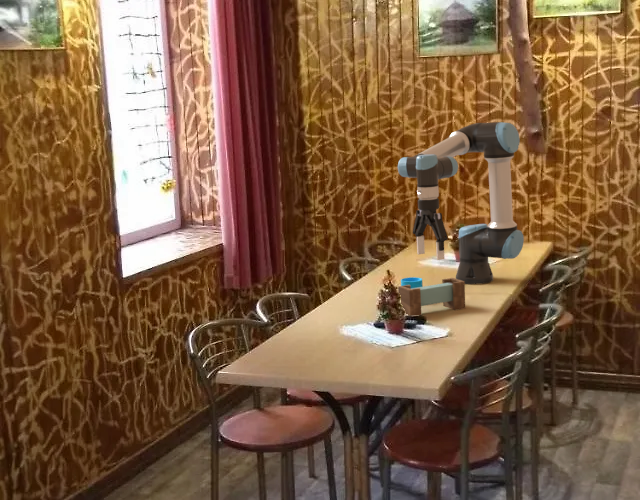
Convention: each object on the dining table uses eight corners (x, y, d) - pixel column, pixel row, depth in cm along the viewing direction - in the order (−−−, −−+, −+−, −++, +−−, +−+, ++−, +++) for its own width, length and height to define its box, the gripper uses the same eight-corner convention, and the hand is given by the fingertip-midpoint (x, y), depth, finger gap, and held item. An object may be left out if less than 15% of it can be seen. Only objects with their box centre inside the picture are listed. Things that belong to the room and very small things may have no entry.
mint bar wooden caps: (453, 304, 349) (452, 277, 347) (465, 308, 342) (464, 281, 340) (399, 313, 340) (398, 286, 338) (410, 317, 332) (409, 290, 331)
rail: (450, 298, 345) (449, 282, 344) (456, 300, 342) (455, 284, 341) (407, 305, 338) (406, 289, 337) (413, 307, 335) (412, 291, 334)
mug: (417, 303, 353) (417, 282, 352) (398, 302, 357) (397, 281, 356) (430, 296, 363) (429, 275, 362) (411, 295, 367) (410, 274, 366)
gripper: (401, 196, 343) (404, 253, 347) (437, 202, 321) (439, 263, 324) (419, 194, 346) (422, 250, 350) (456, 200, 324) (458, 260, 327)
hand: (430, 256), depth 337 cm, fingers open, 13 cm apart
